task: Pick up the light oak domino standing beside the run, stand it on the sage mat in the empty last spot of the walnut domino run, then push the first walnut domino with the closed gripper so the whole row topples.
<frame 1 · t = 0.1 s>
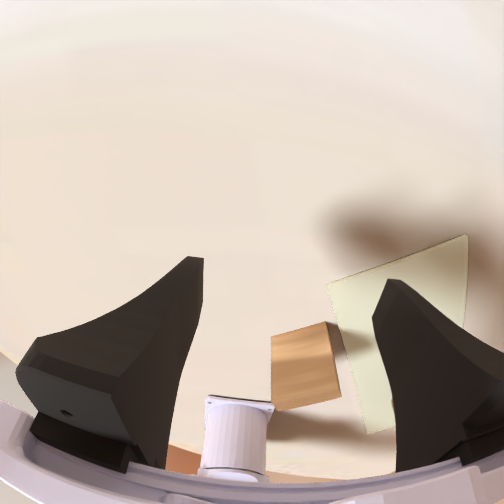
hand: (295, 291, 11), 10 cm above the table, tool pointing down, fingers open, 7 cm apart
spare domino: (300, 335, 26), on the table
sage mat: (409, 366, 28), on the table
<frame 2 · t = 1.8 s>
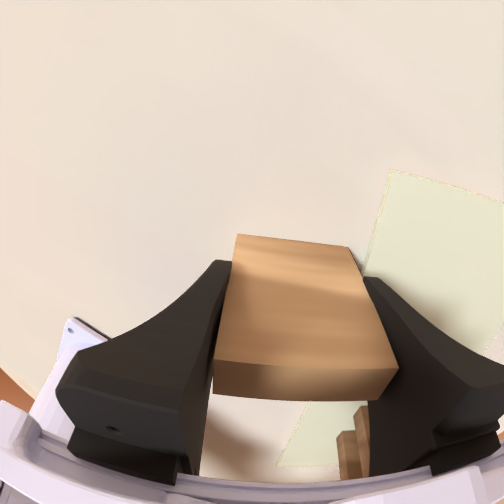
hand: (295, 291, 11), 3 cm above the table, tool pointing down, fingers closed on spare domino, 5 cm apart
domino 1: (364, 433, 21), resting on sage mat
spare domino: (291, 256, 14), on the table, touching gripper
sage mat: (394, 390, 19), on the table
domino 2: (384, 409, 19), resting on sage mat
when the fingers open (5 cm above the table, at t = 5.4 s): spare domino drops 1 cm, resting on sage mat.
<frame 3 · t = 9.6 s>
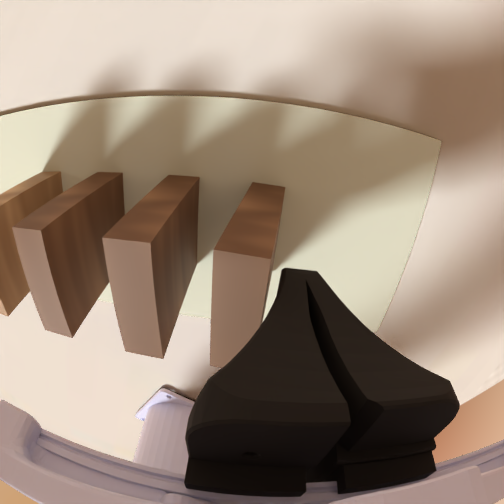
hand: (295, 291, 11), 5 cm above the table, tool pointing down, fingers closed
domino 1: (262, 230, 15), resting on sage mat, tilted 6°, touching gripper
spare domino: (56, 210, 15), resting on sage mat
sage mat: (148, 215, 16), on the table
domino 3: (112, 215, 15), resting on sage mat
domino 2: (183, 221, 16), resting on sage mat
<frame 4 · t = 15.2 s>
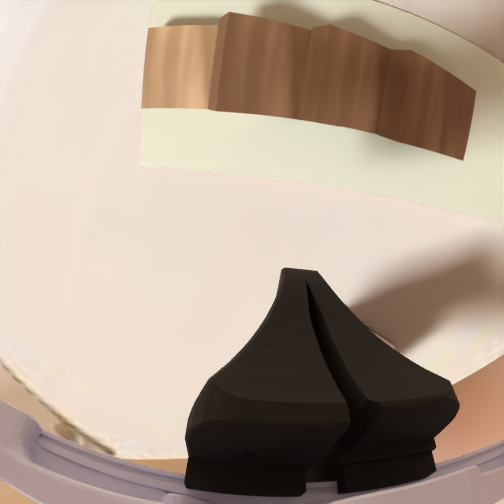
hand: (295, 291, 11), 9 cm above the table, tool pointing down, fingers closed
domino 1: (461, 122, 15), point 1 cm above the table, tilted 68°, touching domino 2, sage mat
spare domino: (270, 71, 14), point 1 cm above the table, tilted 90°, touching domino 3, sage mat
sage mat: (385, 97, 15), on the table
domino 3: (338, 84, 14), point 1 cm above the table, tilted 66°, touching domino 2, sage mat, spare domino
domino 2: (409, 102, 14), point 1 cm above the table, tilted 68°, touching domino 1, domino 3, sage mat
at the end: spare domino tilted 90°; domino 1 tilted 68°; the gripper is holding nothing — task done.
